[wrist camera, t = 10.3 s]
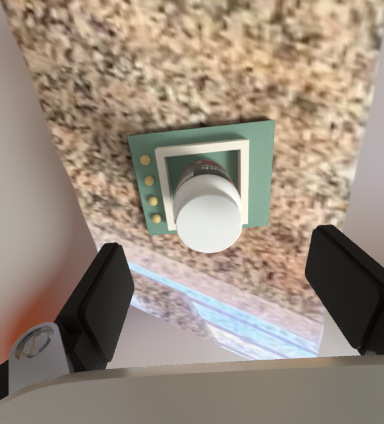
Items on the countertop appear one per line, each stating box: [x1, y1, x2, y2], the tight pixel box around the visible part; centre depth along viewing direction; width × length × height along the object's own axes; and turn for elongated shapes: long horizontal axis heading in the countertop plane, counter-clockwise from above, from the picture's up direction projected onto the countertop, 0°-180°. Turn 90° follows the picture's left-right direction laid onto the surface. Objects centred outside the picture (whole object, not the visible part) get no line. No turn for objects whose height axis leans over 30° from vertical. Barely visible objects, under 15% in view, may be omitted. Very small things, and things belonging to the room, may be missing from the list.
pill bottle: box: [173, 160, 243, 253], centre depth 19 cm, size 6×6×10 cm
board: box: [127, 120, 275, 236], centre depth 23 cm, size 12×15×3 cm
